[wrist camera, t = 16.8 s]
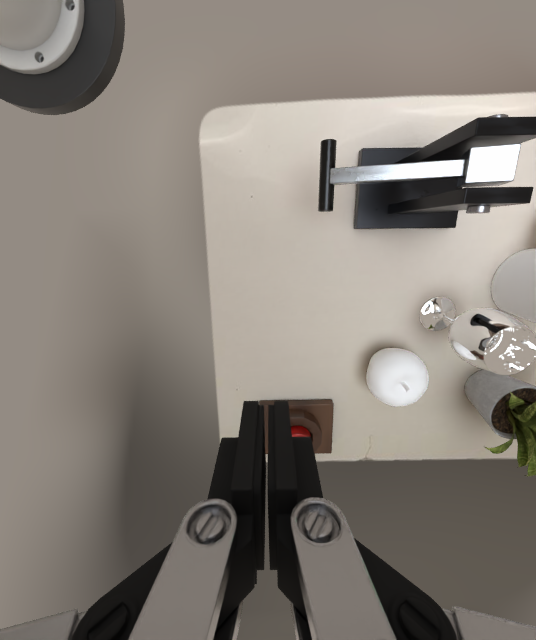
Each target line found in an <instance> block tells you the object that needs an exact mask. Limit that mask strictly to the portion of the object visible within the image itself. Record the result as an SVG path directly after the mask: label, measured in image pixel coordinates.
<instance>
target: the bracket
mask: <svg viewBox="0 0 536 640" xmlns="http://www.w3.org/2000/svg"><path fill="white" fill-rule="evenodd" d="M534 138H536V117H508V115H506V114H499V115H493V116H489V117H483V118H477V119H475V120H473V121H471V122H469V123H468V124H466V125H464V126H462V127H460V128H458V129H457V130H455V131H453V132H451V133H449V134H447V135H445V136H444V137H442V138H440V139H438V140H436V141H434V142H433V143H431V144H429V145H427V146H425V147H423V148H363V149H361V150H360V151H359V163H358V167H360V166H374V165H388V164H402V163H416V162H430V161H444V160H458V159H461V156H462V155H463V154H464V153H465V152H466V151H468V150H469V149H470V148H471V147H483V146H495V145H507V144H520V143H522V142H525V141H528V140H531V139H534ZM457 179H458V178H454V179H436V180H417V181H399V182H380V183H362V184H357V191H356V205H355V219H354V229H371V228H455V227H456V221H457V215H458V210H467V211H466V213H489V212H490V207H497V206H507V205H516V204H526V203H530V200H531V196H532V192H533V187H482V188H463V189H462V187H456V185H457Z"/></svg>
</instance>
